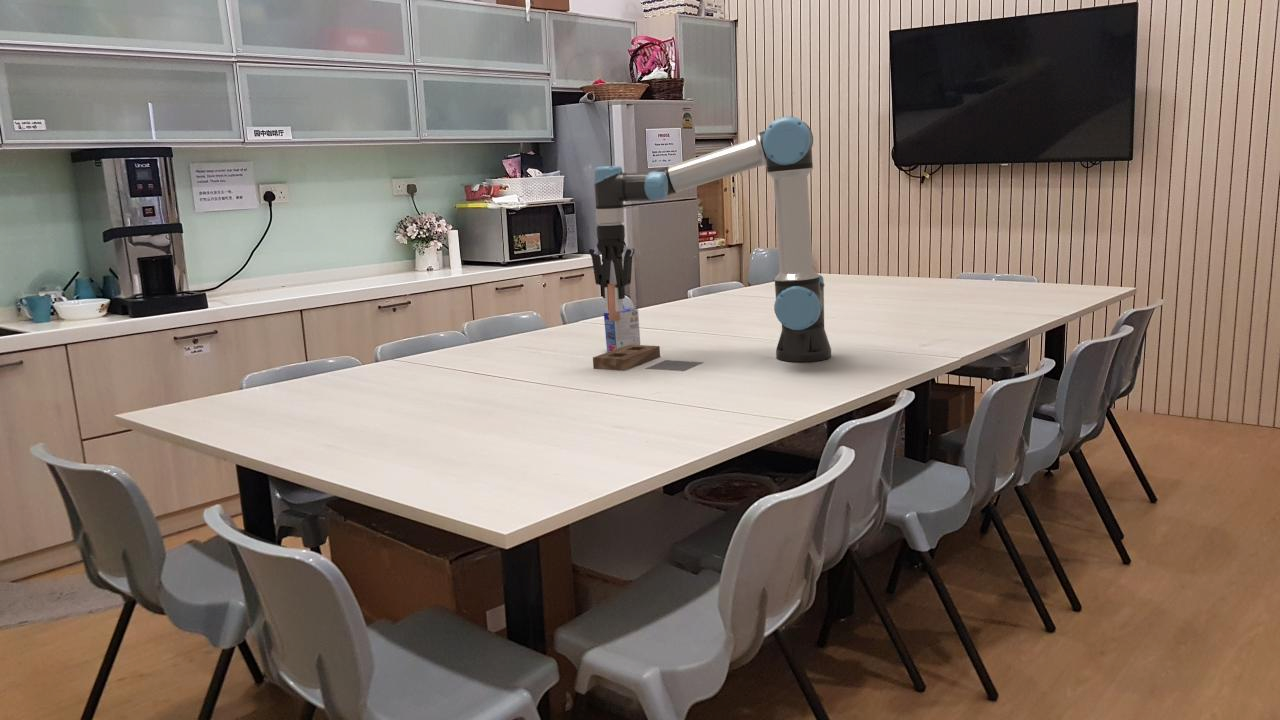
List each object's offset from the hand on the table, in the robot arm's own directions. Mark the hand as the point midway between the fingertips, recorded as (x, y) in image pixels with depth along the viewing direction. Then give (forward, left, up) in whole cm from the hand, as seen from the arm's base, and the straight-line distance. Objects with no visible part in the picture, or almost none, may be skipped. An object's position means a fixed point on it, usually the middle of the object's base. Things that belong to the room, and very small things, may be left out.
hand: (614, 310), depth 273 cm
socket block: (0, -5, -16) cm, 17 cm away
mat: (-15, -5, -16) cm, 23 cm away
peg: (0, 0, -3) cm, 3 cm away
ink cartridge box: (+12, -23, -16) cm, 31 cm away
